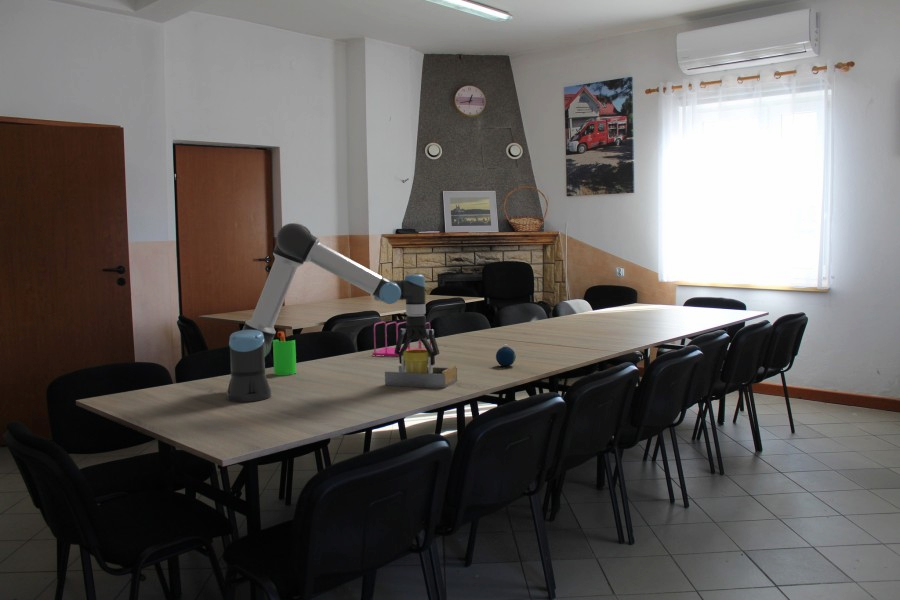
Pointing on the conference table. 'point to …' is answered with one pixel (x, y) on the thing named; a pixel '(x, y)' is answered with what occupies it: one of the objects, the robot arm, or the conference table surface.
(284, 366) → the green cylindrical container
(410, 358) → the plant pot
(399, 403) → the conference table surface
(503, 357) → the christmas ornament
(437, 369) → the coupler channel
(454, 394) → the conference table surface
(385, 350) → the file sorter
